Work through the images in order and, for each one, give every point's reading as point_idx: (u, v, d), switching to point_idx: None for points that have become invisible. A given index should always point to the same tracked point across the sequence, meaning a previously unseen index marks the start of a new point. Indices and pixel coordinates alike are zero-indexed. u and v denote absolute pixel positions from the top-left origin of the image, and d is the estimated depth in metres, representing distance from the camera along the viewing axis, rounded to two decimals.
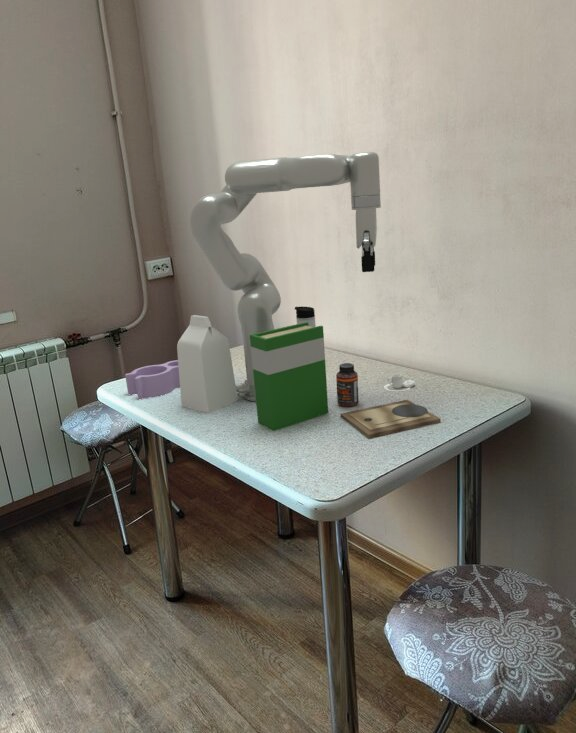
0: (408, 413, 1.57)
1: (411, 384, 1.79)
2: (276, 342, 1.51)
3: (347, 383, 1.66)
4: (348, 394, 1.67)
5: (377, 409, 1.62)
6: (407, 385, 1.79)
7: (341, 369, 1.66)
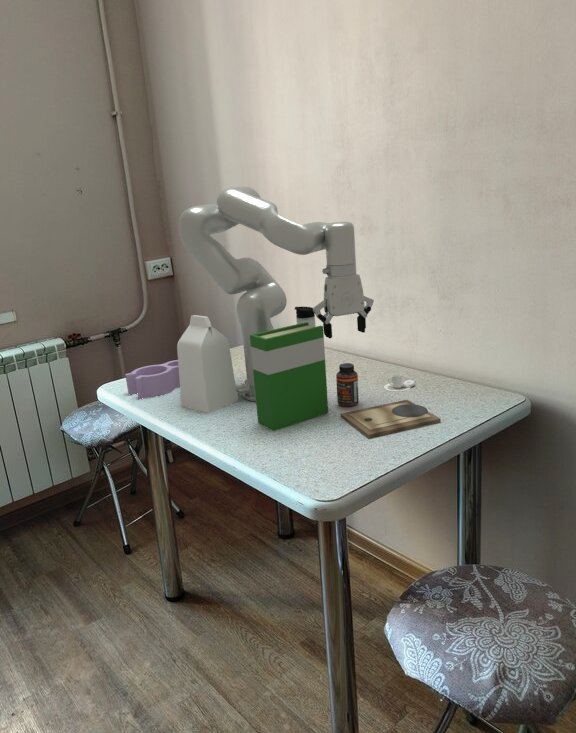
0: (408, 413, 1.57)
1: (411, 384, 1.79)
2: (276, 342, 1.51)
3: (347, 383, 1.66)
4: (348, 394, 1.67)
5: (377, 409, 1.62)
6: (407, 385, 1.79)
7: (341, 369, 1.66)
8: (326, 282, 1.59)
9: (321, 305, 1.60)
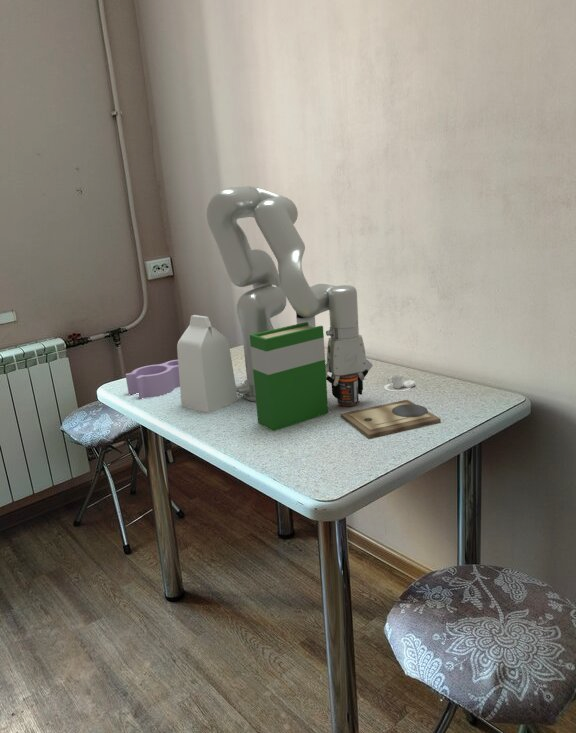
0: (408, 413, 1.57)
1: (411, 384, 1.79)
2: (276, 342, 1.51)
3: (347, 383, 1.66)
4: (348, 394, 1.67)
5: (377, 409, 1.62)
6: (407, 385, 1.79)
7: None
8: (329, 343, 1.64)
9: (326, 368, 1.65)
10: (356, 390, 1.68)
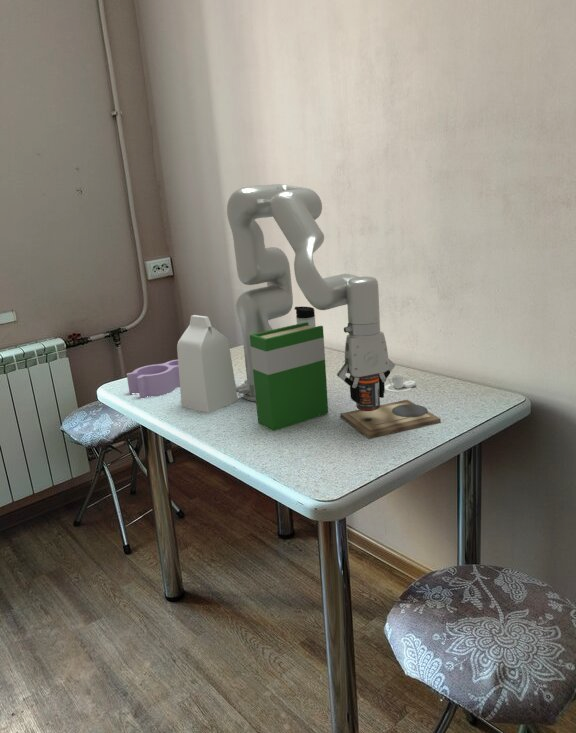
0: (408, 413, 1.57)
1: (412, 384, 1.79)
2: (276, 342, 1.51)
3: (367, 385, 1.49)
4: (368, 398, 1.50)
5: (377, 409, 1.62)
6: (408, 385, 1.79)
7: None
8: (348, 341, 1.47)
9: (345, 369, 1.49)
10: (377, 393, 1.51)
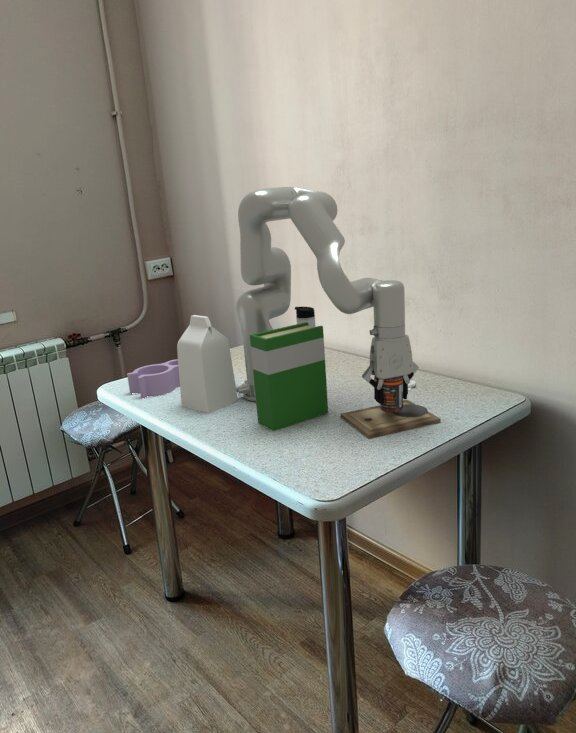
0: (408, 413, 1.57)
1: (412, 384, 1.79)
2: (276, 342, 1.51)
3: (391, 387, 1.52)
4: (392, 399, 1.53)
5: (377, 409, 1.62)
6: (408, 385, 1.79)
7: None
8: (373, 344, 1.50)
9: (370, 371, 1.51)
10: (401, 394, 1.54)
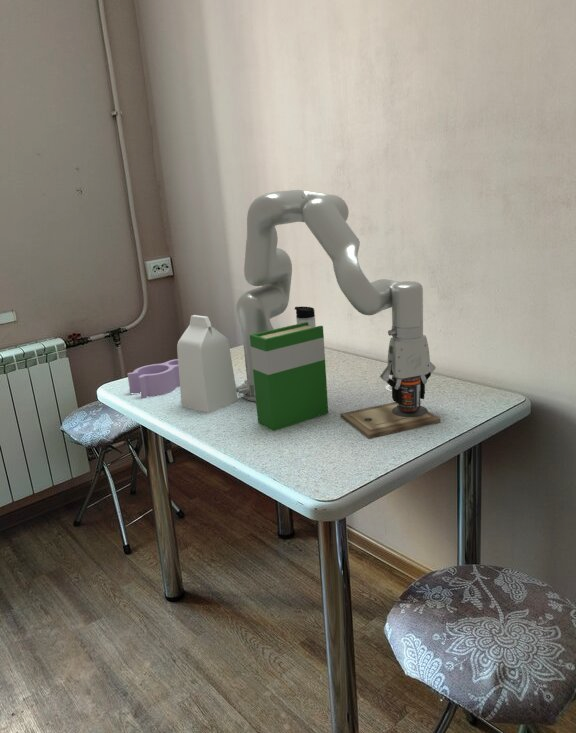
0: (408, 413, 1.57)
1: None
2: (276, 342, 1.51)
3: (409, 387, 1.54)
4: (410, 399, 1.55)
5: (377, 409, 1.62)
6: None
7: None
8: (392, 344, 1.52)
9: (388, 371, 1.53)
10: (419, 394, 1.56)
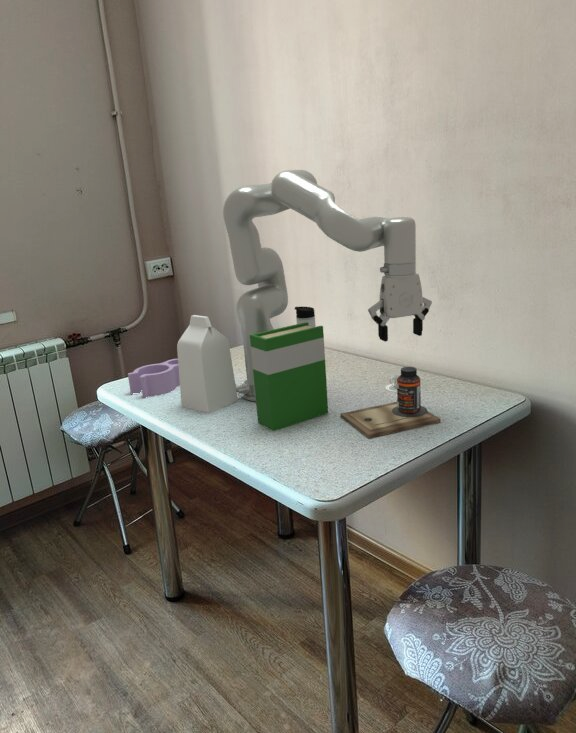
0: None
1: None
2: (276, 342, 1.51)
3: (410, 389, 1.54)
4: (410, 400, 1.55)
5: (377, 409, 1.62)
6: None
7: (403, 373, 1.55)
8: (383, 281, 1.49)
9: (377, 306, 1.50)
10: (419, 396, 1.56)
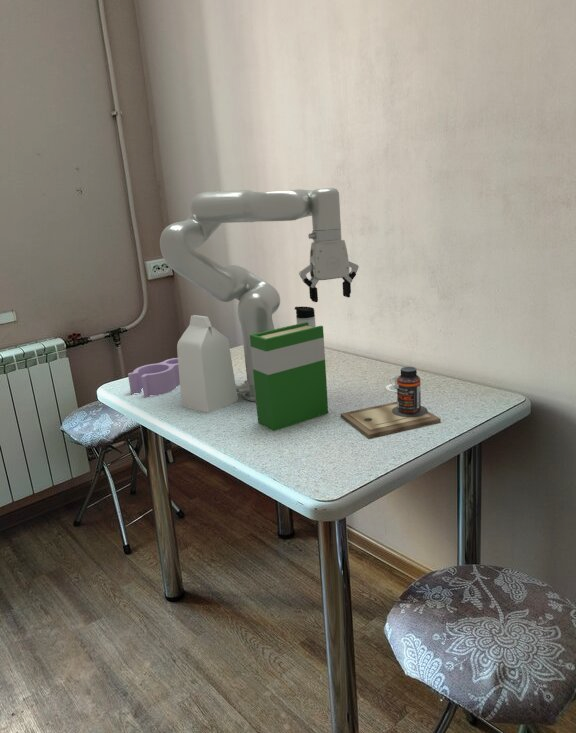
0: None
1: None
2: (276, 342, 1.51)
3: (410, 388, 1.54)
4: (410, 400, 1.55)
5: (377, 409, 1.62)
6: None
7: (403, 373, 1.55)
8: (312, 247, 1.64)
9: (307, 269, 1.65)
10: (419, 396, 1.56)
